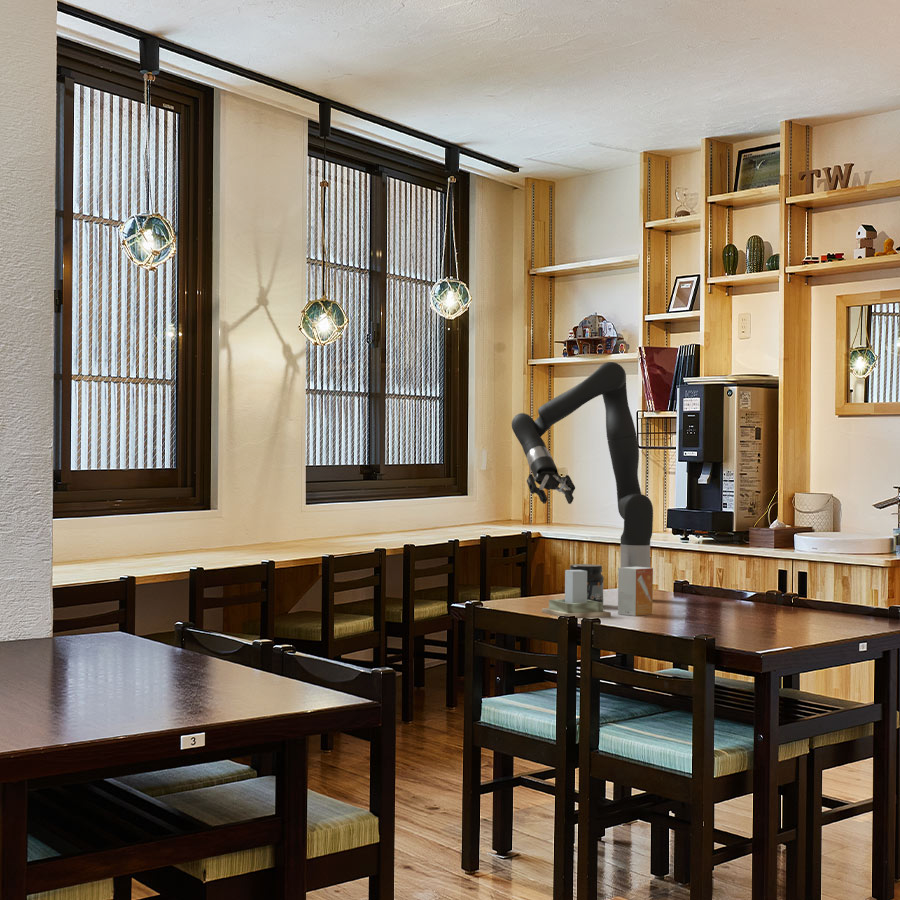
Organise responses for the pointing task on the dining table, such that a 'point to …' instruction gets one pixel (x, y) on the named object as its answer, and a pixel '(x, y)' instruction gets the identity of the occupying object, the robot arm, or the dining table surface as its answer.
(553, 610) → the cradle jig
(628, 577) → the small box
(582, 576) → the block
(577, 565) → the supplement container
